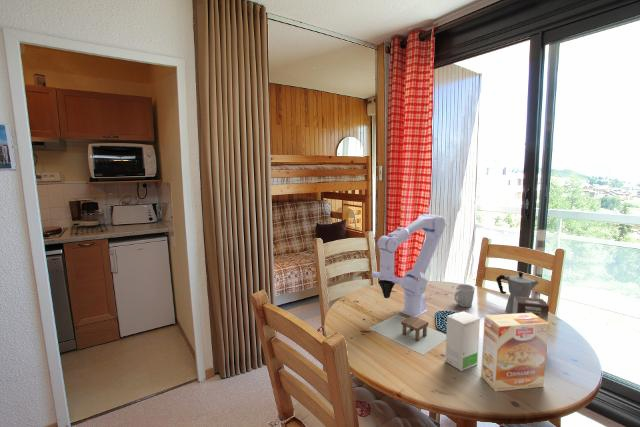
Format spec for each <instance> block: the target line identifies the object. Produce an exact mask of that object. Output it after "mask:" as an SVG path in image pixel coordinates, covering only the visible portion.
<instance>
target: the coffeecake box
mask: <svg viewBox="0 0 640 427" xmlns="http://www.w3.org/2000/svg"><path fill="white" fill-rule="evenodd" d="M549 328H550V323H549V322H548V321H545V320H543V319H541V318H540V317H538V316H536V315H535V314H533V313H531V312H530V313H517V314H509V313H503V314H486V315H484V323H483V336H482V338H483V339H482V354H481V369H480V377H481V378H482V379H483V380H484V381H485V382H486V383H487V384H488V385H489V387H490V388H491V389H492V390H493V391H494V392H503V391H514V390H522V389H523V390H524V389H533V388H534V389H535V388H543V387H544V384H545V383H544V381H545V369H546V360H547V352H548V351H547V349H548V340H549Z"/></svg>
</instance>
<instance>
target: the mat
mask: <svg viewBox="0 0 640 427" xmlns="http://www.w3.org/2000/svg"><path fill="white" fill-rule="evenodd" d="M407 318H408V317H404V316H402V315H400V314H394V315H392V316H391V317H389V318H387V319H384V320H383V321H381V322H378V323H377V324H375V325H372V326H371V327H369V328H368V329H369V330H372V331H374V332H375V333H378V334H379V335H381V336H384V337H385V338H387V339H389V340H391V341H394V342H395V343H398V344H400V345H402V346H404V347H406V348H408V349H410V350H412V351H414V352H416V353H418V354H420V355H422V356H424V355H425V354H427V353H428V352H430V351H431V350H432V349H434V348H436V347H437V346H439V345H440V344H441V343H443V342H444V341H446V333H443V332H441V331H438V330H436V329H433V328H431V327H429V326H427V336H426V337H424V336H423V329H421V330H420V334H419V341H416V340H415V332H416V331H415V330H414V331H411V330H410V328H408V327H406V335H403V334H402V331H403V325H401V321H403V320H405V319H407Z"/></svg>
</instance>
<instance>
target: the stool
mask: <svg viewBox="0 0 640 427" xmlns="http://www.w3.org/2000/svg"><path fill="white" fill-rule="evenodd" d="M406 318H407V319H405V320H403V321H401V325H403V331H402V334H403V335H406V327H408V328H410V330H411V331H414V330H415V331H416V332H415V340H416V341H419V334H420V330H421V329H423V336H424V337H426V336H427V327H429V321H426V320H423V319H421V318H420V317H419V318H418V317H414V316H409V317H406Z"/></svg>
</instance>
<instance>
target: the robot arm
mask: <svg viewBox="0 0 640 427" xmlns="http://www.w3.org/2000/svg"><path fill="white" fill-rule="evenodd" d="M446 225H447V224H446V220H445V217H444V216H443V215H435V214H428V213H422V214H421V215H419V216H417V218H416V219H415V220H414V221H413V222H411V223H410V224H408V225H407V226H406V227H403V226H401V227H400V226H398V227H396V229H395V230H394V231H392V232H389V233H388V234H387V235H382V236H380V237H379V238H378V240H377V242H376V245H377V248H378V252H379V271H376V270H375V271H372V272H371V277H373V278H378V279H379V280H378V281H377V282H378V284H379V286H380V288H381V291H382V295H383V298H384V299H389V298H390V297H391V293H392V290H393V288H394V286H395V284H396V285H397V286H400V287H401V288H402V291H403V293H404V295H403V309H400V310H399V312H400V313H402V314H404V315H406V316H407V315H408V316H409V317H411V316H414V317H417V318H418V317H419V316H422V315H424V314H426V313H427V312H428V310H427V308H426V305H427V304H426V303H427V297H426V294H425V291H426V290H427V289H426V288H427V283H428V279H427V277H426V272H427V270H428V269H429V268H428V267H429V265H430V263H431V261H432V258H433V256H434V254H435V251H436V250H437V247H438V245H439V243H440V241H441V237H442V234H443V233H444V231H445V230H444V229H445V228H446ZM420 230H422V231H423V233H424V234H425V237H426V238H425V240H424V241H423V245H422V247H421V249H420V251H419V254H418V255H417V258H416V260H415V262H414V264H413V267H412V269H410V270H407V271H406V273H405V274H404V276H402V278H400V277H398V276H396V275H395V255H396V254H395V253H396V251H397V250H398V248H399V246H400V245H401V244H403V243H404V242H406V241H408V240H409V238H410V235H412V234H414V233H416V232H418V231H420Z"/></svg>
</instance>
